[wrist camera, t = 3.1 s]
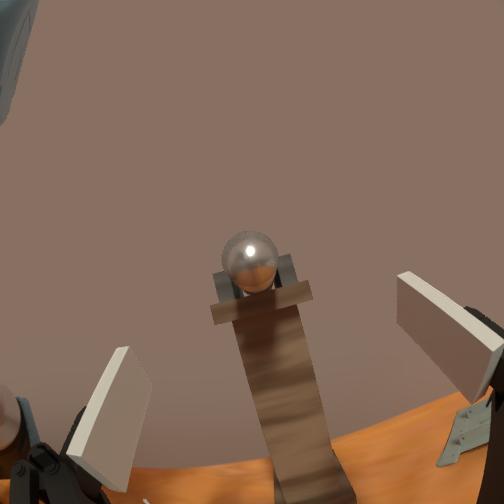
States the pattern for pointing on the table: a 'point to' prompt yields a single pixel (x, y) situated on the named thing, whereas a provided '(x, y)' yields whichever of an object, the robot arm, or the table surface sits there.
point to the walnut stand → (284, 387)
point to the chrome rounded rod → (251, 261)
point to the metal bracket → (467, 432)
